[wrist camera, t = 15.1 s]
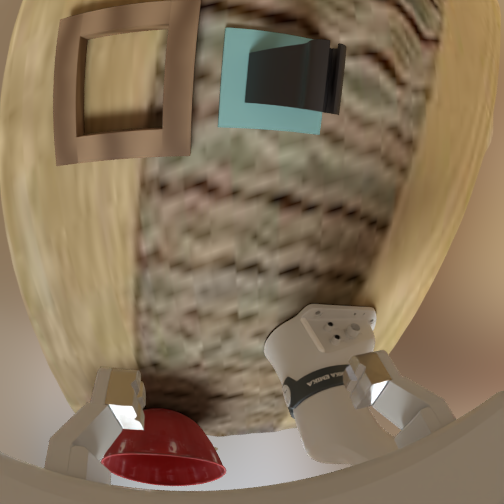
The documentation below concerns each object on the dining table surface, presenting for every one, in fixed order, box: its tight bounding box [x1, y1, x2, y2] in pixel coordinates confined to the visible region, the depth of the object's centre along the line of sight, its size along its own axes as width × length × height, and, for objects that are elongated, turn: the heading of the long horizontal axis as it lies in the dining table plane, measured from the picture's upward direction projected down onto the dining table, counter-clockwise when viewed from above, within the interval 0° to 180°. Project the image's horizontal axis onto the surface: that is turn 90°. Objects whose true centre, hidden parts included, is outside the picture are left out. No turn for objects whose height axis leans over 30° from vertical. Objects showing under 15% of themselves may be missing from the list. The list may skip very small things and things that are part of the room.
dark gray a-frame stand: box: [245, 39, 346, 115], centre depth 23 cm, size 9×6×12 cm, turn 84°
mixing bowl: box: [101, 408, 226, 486], centre depth 52 cm, size 28×28×15 cm
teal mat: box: [218, 28, 322, 135], centre depth 28 cm, size 12×12×1 cm
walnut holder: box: [53, 0, 201, 166], centre depth 24 cm, size 16×18×2 cm
